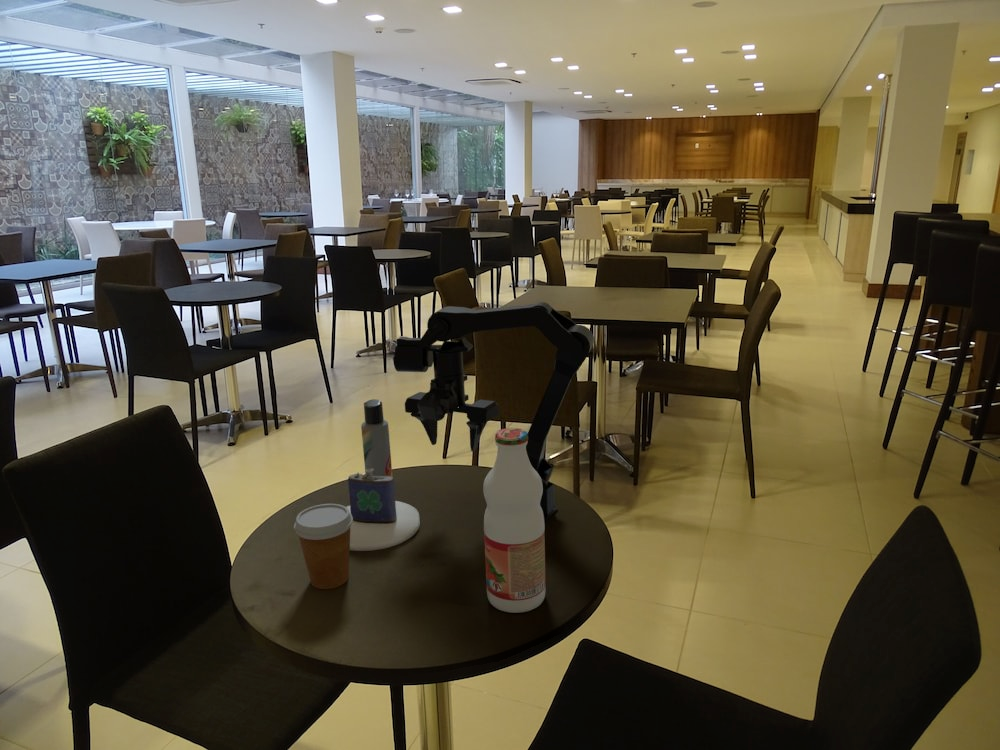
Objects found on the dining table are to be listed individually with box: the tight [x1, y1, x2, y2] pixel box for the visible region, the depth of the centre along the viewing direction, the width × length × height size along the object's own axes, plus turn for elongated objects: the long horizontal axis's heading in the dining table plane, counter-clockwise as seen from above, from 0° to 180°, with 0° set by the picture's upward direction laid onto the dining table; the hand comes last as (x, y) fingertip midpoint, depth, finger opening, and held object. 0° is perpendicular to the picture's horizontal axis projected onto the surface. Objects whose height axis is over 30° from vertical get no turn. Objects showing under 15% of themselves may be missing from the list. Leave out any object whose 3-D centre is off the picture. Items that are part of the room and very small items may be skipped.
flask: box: [347, 468, 397, 524], centre depth 137 cm, size 9×3×11 cm, turn 78°
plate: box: [346, 500, 421, 552], centre depth 139 cm, size 18×18×2 cm
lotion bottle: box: [360, 399, 393, 478], centre depth 153 cm, size 6×6×20 cm
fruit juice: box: [482, 427, 547, 614], centre depth 111 cm, size 9×9×28 cm
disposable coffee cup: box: [293, 503, 353, 590], centre depth 120 cm, size 10×10×12 cm
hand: (453, 447), depth 143 cm, fingers open, 9 cm apart
